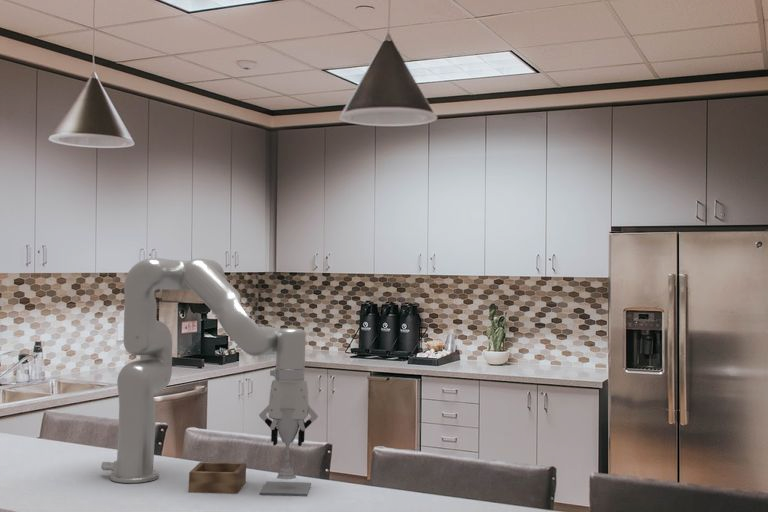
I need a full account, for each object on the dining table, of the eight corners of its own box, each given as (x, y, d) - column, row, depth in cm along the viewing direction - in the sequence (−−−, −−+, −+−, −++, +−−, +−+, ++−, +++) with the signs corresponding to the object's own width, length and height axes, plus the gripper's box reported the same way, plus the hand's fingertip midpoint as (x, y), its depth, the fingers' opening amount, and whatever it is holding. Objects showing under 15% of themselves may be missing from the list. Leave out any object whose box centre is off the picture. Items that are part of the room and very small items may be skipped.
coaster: (259, 494, 195) (259, 492, 195) (266, 483, 207) (266, 481, 207) (306, 496, 195) (307, 493, 195) (311, 484, 207) (311, 482, 207)
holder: (188, 492, 196) (189, 472, 196) (199, 480, 208) (200, 462, 208) (237, 493, 196) (238, 473, 196) (245, 482, 208) (246, 463, 208)
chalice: (294, 481, 197) (296, 410, 198) (269, 479, 198) (271, 408, 199) (303, 475, 204) (305, 406, 205) (278, 473, 205) (281, 405, 206)
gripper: (255, 375, 199) (252, 446, 198) (321, 377, 199) (319, 448, 198) (259, 373, 206) (256, 441, 205) (323, 375, 207) (321, 443, 205)
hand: (287, 444), depth 202 cm, fingers closed on chalice, 5 cm apart
